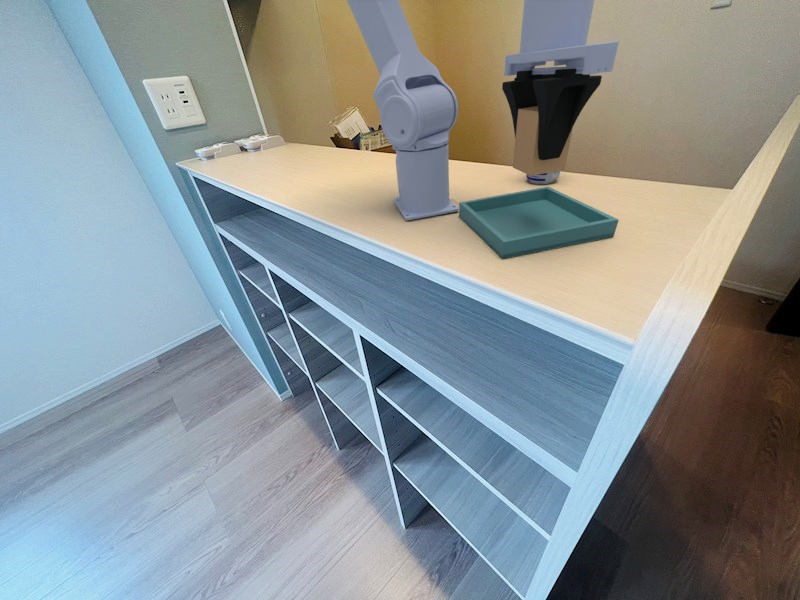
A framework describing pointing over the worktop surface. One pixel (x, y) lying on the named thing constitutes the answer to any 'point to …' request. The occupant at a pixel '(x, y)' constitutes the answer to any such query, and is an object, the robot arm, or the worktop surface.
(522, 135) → the tan rectangular block
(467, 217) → the teal tray
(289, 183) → the worktop surface
